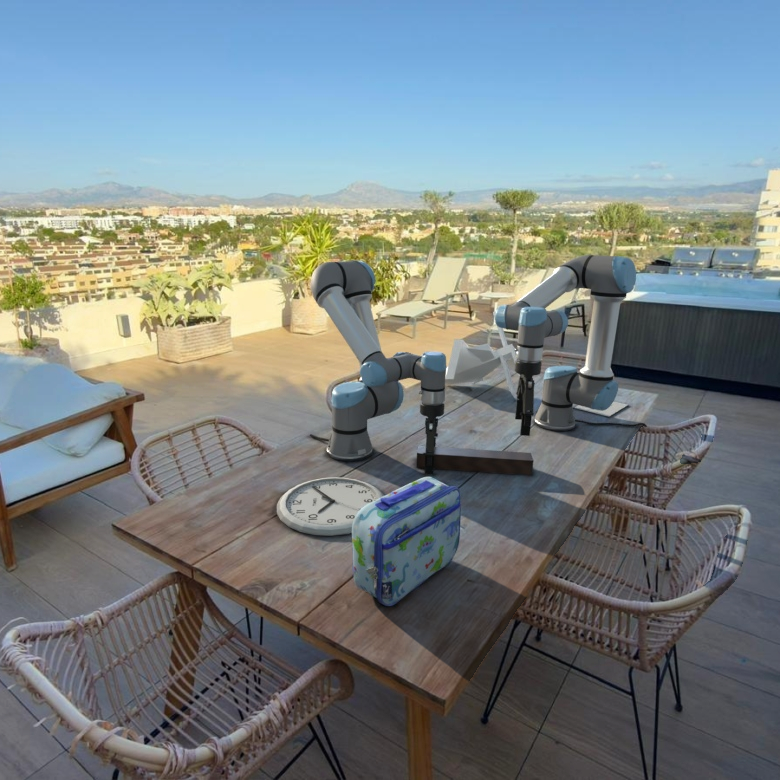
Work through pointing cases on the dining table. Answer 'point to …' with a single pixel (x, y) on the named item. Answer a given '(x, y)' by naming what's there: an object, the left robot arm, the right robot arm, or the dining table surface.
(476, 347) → the white plastic object
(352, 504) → the wall clock
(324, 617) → the dining table surface
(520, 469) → the plank
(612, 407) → the invitation card
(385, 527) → the lunch box
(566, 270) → the right robot arm
